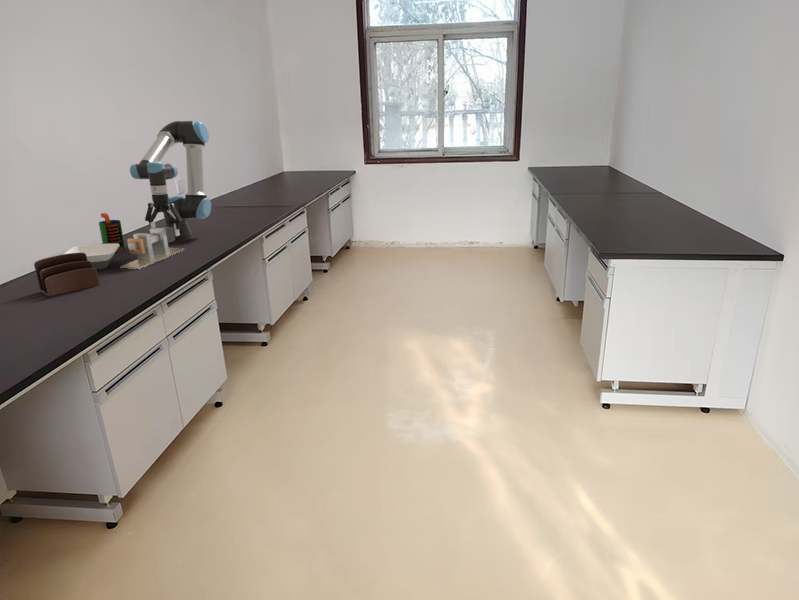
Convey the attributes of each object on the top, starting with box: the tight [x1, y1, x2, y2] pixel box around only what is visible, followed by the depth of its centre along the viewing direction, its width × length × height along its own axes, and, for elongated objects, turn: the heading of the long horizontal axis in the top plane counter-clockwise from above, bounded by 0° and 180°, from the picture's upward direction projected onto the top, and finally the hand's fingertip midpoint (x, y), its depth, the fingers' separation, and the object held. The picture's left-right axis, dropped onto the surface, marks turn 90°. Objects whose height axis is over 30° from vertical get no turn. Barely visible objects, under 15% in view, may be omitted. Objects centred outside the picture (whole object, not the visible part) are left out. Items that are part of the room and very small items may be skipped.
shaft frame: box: [120, 227, 185, 270], centre depth 267 cm, size 10×36×14 cm, turn 167°
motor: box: [98, 212, 126, 253], centre depth 281 cm, size 10×9×20 cm
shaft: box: [127, 226, 176, 251], centre depth 266 cm, size 5×30×7 cm, turn 167°
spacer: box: [126, 237, 145, 255], centre depth 256 cm, size 7×2×7 cm, turn 77°
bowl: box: [63, 243, 120, 270], centre depth 256 cm, size 22×23×8 cm
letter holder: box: [33, 253, 101, 298], centre depth 225 cm, size 10×20×14 cm, turn 138°
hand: (166, 235), depth 277 cm, fingers open, 13 cm apart
